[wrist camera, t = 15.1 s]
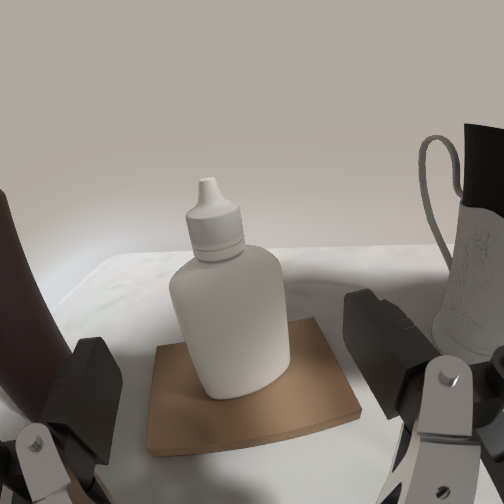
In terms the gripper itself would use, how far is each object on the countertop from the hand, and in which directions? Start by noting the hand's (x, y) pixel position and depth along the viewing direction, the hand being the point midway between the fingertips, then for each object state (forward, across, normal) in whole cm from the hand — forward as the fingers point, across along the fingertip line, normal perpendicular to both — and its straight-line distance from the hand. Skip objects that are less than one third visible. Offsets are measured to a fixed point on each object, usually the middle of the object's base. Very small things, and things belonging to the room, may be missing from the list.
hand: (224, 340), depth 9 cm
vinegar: (+6, +15, +9) cm, 19 cm away
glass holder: (+6, -18, +9) cm, 21 cm away
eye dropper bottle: (+6, 0, +8) cm, 10 cm away
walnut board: (+5, 0, +9) cm, 10 cm away
